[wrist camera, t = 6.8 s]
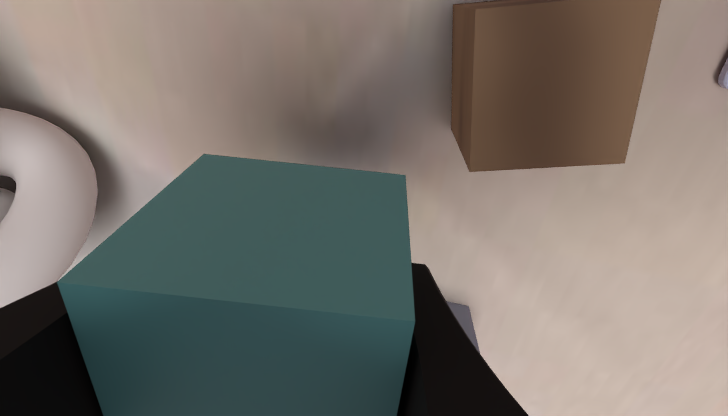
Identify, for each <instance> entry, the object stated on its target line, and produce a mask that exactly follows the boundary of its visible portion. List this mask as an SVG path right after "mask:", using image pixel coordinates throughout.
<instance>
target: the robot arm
mask: <svg viewBox="0 0 728 416" xmlns="http://www.w3.org/2000/svg"><path fill="white" fill-rule="evenodd" d="M718 82H719V85H720V86H721V87H723V88H726V89H728V58H727V60H726V62H725V64H724V66H723V68H722V70H721V73H720V75H719V78H718ZM411 266H412V281H413V296H414V311H415V325H414V330H413V335H412V340H411V345H410V351H409V356H408V361H407V366H406V371H405V376H404V381H403V386H402V391H401V396H400V401H399V406H398V412H397V416H528V414H527V413H526V412H525V411H524V410H523V408H522V407H521V406H520V405H519V404H518V402H517V401H516V400H515V399H514V398H513V397H512V395H511V394H510V393H509V392H508V390H507V389H506V388H505V387H504V385H503V384H502V383H501V382H500V380H499V379H498V378H497V376H496V375H495V374H494V372H493V371H492V370H491V368H490V367H489V366H488V364H487V363H486V362H485V360H484V359H483V357H482V356H481V355H480V353H479V352H478V351H477V349H476V348H475V346H474V345H473V343H472V342H471V340H470V339H469V337H468V336H467V334H466V333H465V331H464V330H463V328H462V326H461V325H460V323H459V322H458V320H457V319H456V317H455V316H454V314H453V312H452V311H451V309H450V307H449V306H448V304H447V302H446V300H445V299H444V297H443V295H442V293H441V292H440V290H439V288H438V286H437V284H436V282H435V280H434V278H433V276H432V275H431V272H430V270H429V269H428V267H427V266H426V265H425V264H416V263H411ZM57 282H58V281H57ZM57 282H55V283H53V284H51V285H49V286H47V287H45V288H42V289H40V290H38V291H36V292H34V293H32V294H29V295H27V296H25V297H23V298H21V299H19V300H17V301H14V302H12V303H10V304H8V305H6V306H4V307H1V308H0V416H103V413H102V410H101V407H100V404H99V401H98V399H97V396H96V393H95V390H94V387H93V384H92V381H91V378H90V376H89V373H88V370H87V367H86V364H85V361H84V358H83V356H82V353H81V350H80V347H79V344H78V341H77V338H76V335H75V333H74V330H73V327H72V324H71V321H70V318H69V315H68V312H67V310H66V307H65V304H64V301H63V298H62V295H61V292H60V289H59V287H58V284H57Z"/></svg>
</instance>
